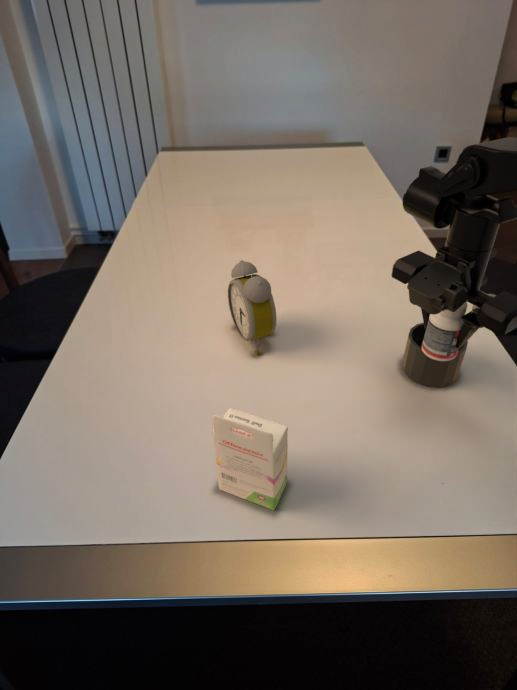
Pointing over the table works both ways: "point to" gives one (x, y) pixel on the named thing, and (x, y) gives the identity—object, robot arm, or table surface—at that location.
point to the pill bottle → (443, 334)
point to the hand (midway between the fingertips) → (442, 337)
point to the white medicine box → (251, 457)
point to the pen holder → (429, 362)
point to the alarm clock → (251, 304)
